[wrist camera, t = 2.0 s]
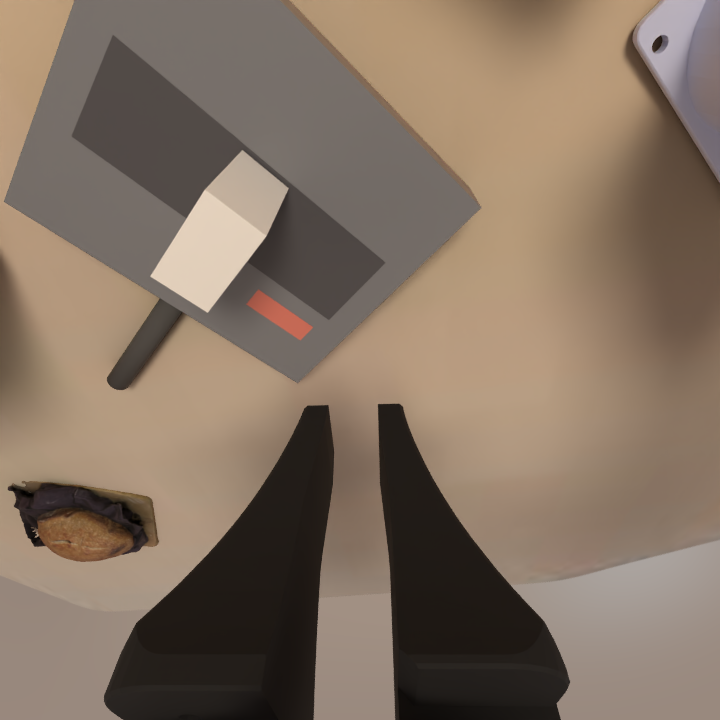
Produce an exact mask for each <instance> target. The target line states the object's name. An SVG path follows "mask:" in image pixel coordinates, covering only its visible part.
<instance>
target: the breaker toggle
mask: <svg viewBox="0 0 720 720" xmlns="http://www.w3.org/2000/svg"><path fill="white" fill-rule="evenodd" d="M288 189H289V188H288V187H286V186H285V185H284V184H283V183H282V182H280V181H279V180H278V179H277V178H276V177H274V176H273V175H272V174H271V173H270V172H268V171H267V170H266V169H265V168H264V167H262V166H261V165H260V164H259V163H257V162H256V161H255V160H254V159H253V158H251V157H250V156H249V155H248V154H247V153H245V152H244V151H243V150H242V151H241V152H240V153H239V154H238V155H237V156H236V157H235V158H234V159H233V161H232V162H231V163H230V164H229V165H228V166H227V167H226V168H225V169H224V170H223V171H222V172H221V173H220V174H219V175H218V176H217V177H216V178H215V179H214V180H213V182H212V183H211V184H210V185H209V186H208V187H207V188H206V189H205V190H204V192H203V193H202V195H201V197H200V198H199V200H198V201H197V203H196V205H195V206H194V208H193V209H192V211H191V212H190V214H189V216H188V217H187V219H186V220H185V222H184V224H183V225H182V227H181V228H180V230H179V231H178V233H177V235H176V236H175V238H174V239H173V241H172V243H171V244H170V246H169V247H168V249H167V251H166V252H165V254H164V255H163V257H162V258H161V260H160V262H159V263H158V265H157V266H156V268H155V270H154V271H153V273H152V274H151V276H150V277H152V278H153V279H155V280H157V281H158V282H160V283H161V284H163V285H165V286H166V287H168V288H169V289H171V290H172V291H174V292H176V293H177V294H179V295H180V296H182V297H183V298H185V299H187V300H188V301H190V302H191V303H193V304H195V305H196V306H198V307H199V308H201V309H202V310H204V311H206V312H207V313H208V312H209V310H210V309H211V308H212V306H213V305H214V304H215V303H216V301H217V300H218V299H219V297H220V296H221V295H222V293H223V292H224V291H225V290H226V288H227V287H228V286H229V284H230V283H231V282H232V280H233V279H234V278H235V277H236V275H237V274H238V273H239V271H240V270H241V269H242V267H243V266H244V265H245V263H246V262H247V261H248V260H249V258H250V257H251V256H252V254H253V253H254V252H255V250H256V249H257V248H258V247H259V245H260V244H261V243H262V241H263V240H264V239H265V237H266V236H267V234H268V232H269V230H270V228H271V225H272V223H273V221H274V219H275V217H276V215H277V213H278V210H279V208H280V206H281V204H282V202H283V200H284V197H285V195H286V193H287V191H288Z"/></svg>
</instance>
